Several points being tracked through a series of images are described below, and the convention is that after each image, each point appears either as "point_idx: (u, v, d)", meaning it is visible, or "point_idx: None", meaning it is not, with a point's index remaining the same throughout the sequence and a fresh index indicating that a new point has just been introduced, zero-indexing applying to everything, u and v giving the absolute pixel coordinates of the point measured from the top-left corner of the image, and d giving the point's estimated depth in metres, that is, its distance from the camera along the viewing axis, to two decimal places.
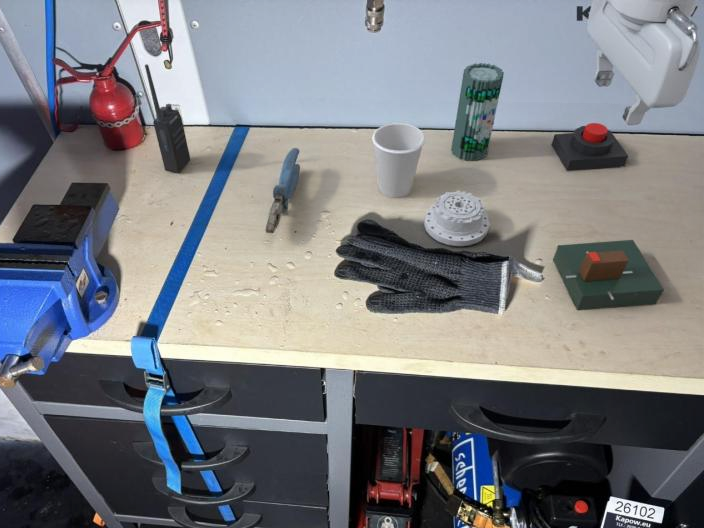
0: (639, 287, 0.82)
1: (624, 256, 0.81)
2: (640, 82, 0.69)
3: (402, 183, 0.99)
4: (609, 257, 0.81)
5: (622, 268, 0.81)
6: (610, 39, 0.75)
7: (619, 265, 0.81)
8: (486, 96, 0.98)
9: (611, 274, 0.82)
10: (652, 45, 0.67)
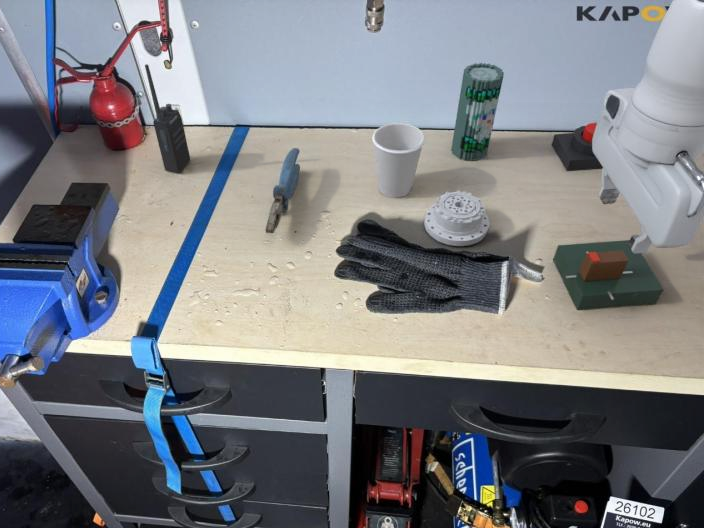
0: (639, 287, 0.82)
1: (624, 256, 0.81)
2: (647, 219, 0.68)
3: (402, 183, 0.99)
4: (609, 257, 0.81)
5: (622, 268, 0.81)
6: (616, 164, 0.73)
7: (619, 265, 0.81)
8: (486, 96, 0.98)
9: (611, 274, 0.82)
10: (660, 187, 0.65)
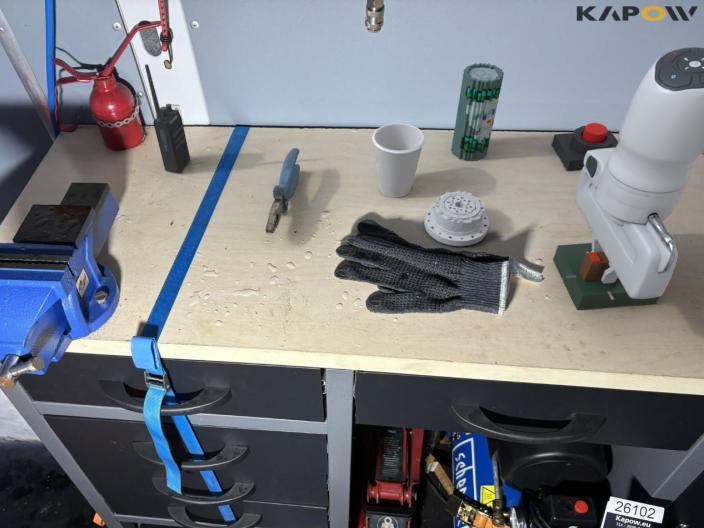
0: None
1: None
2: (623, 272, 0.74)
3: (402, 183, 0.99)
4: None
5: None
6: (595, 217, 0.80)
7: None
8: (486, 96, 0.98)
9: None
10: (633, 244, 0.71)
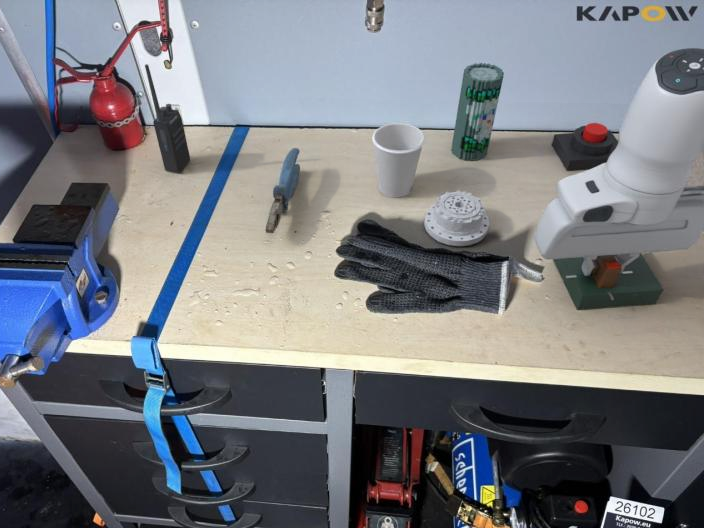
0: (639, 287, 0.82)
1: None
2: (671, 243, 0.77)
3: (402, 183, 0.99)
4: (608, 255, 0.81)
5: None
6: (599, 244, 0.76)
7: None
8: (486, 96, 0.98)
9: None
10: (680, 218, 0.74)
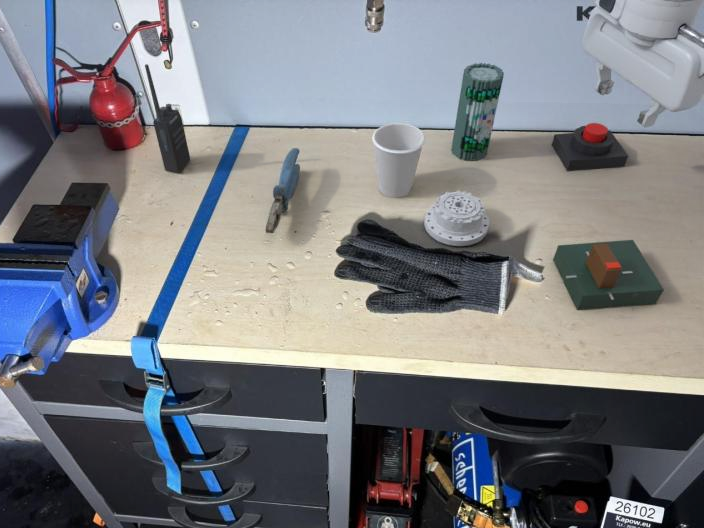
0: (639, 287, 0.82)
1: (602, 245, 0.82)
2: (659, 90, 0.79)
3: (402, 183, 0.99)
4: (608, 255, 0.81)
5: None
6: (614, 54, 0.84)
7: None
8: (486, 96, 0.98)
9: None
10: (669, 58, 0.76)
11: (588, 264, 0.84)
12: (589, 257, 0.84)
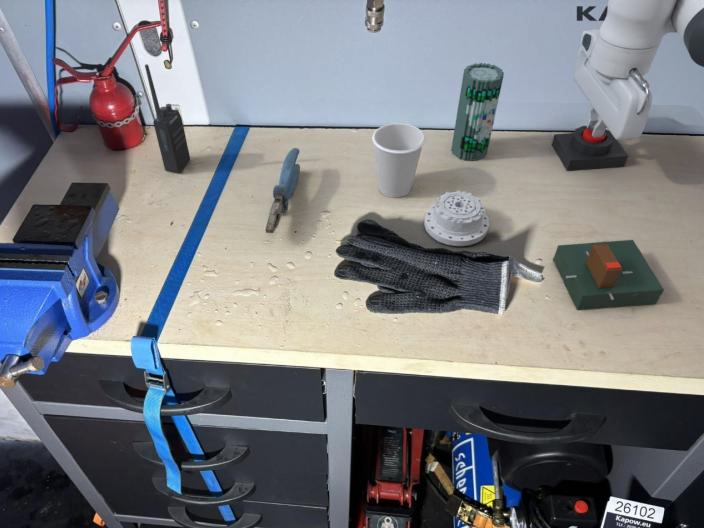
0: (639, 287, 0.82)
1: (602, 245, 0.82)
2: (610, 121, 0.94)
3: (402, 183, 0.99)
4: (608, 255, 0.81)
5: None
6: (589, 86, 1.00)
7: None
8: (486, 96, 0.98)
9: None
10: (618, 95, 0.92)
11: (588, 264, 0.84)
12: (589, 257, 0.84)
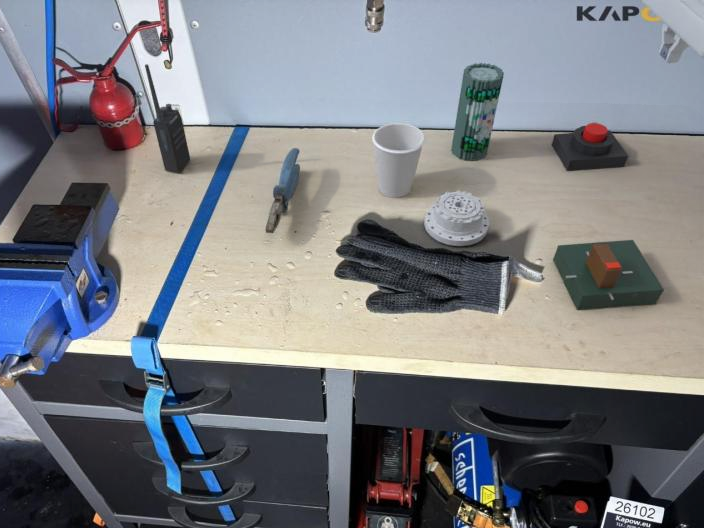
0: (639, 287, 0.82)
1: (602, 245, 0.82)
2: (694, 36, 0.81)
3: (402, 183, 0.99)
4: (608, 255, 0.81)
5: None
6: (664, 2, 0.87)
7: None
8: (486, 96, 0.98)
9: None
10: None
11: (588, 264, 0.84)
12: (589, 257, 0.84)
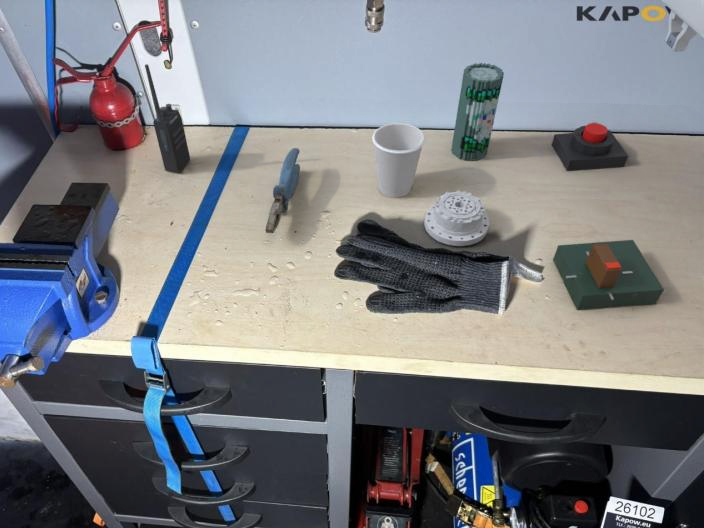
0: (639, 287, 0.82)
1: (602, 245, 0.82)
2: (702, 23, 0.79)
3: (402, 183, 0.99)
4: (608, 255, 0.81)
5: None
6: None
7: None
8: (486, 96, 0.98)
9: None
10: None
11: (588, 264, 0.84)
12: (589, 257, 0.84)
